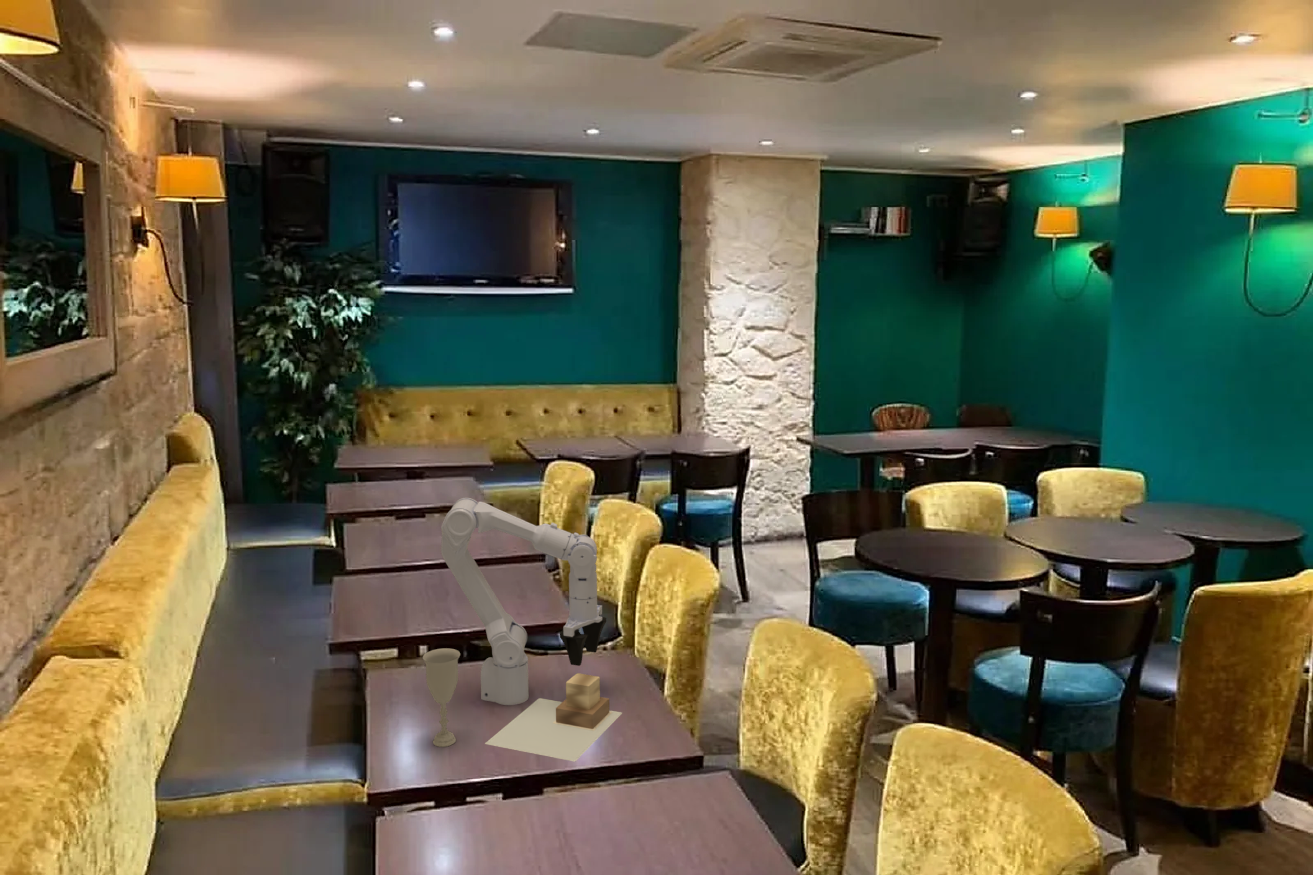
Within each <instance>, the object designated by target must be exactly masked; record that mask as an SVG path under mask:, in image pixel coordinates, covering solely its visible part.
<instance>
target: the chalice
mask: <svg viewBox="0 0 1313 875" xmlns="http://www.w3.org/2000/svg"><path fill="white" fill-rule="evenodd" d="M460 656H461V653H460V651H459V650H457V649H454V648H447V647H446V648H437V649H432V650H430V651H428V652H426V653H424V655H422V660H423V662H424V663H425V675H426V677H425V679H426V685H427V688H428V689H429V693H430V694H431V696H432V698H433V699H434V701H435V702H436V703H437V704H439V705H440V711H439V715H440V716H441V717H440V721H439V722H438V723H439V724H440V726H441V730H440V731H438V733H436V734H435V736H434V739H433V741H432V743H433V745H434V746H435V747H439V748H446V747H450V746H452V745H454V744H455V743H456V742H457V739H456V737H455V735H454V733H452V731H449V730H448V728H447V726H448V723H449V722H450V721H449V720H448V718H447V714H448V713H449V712H448V710H447V703H449V702H451V700H452V698H453V695H454V693H455V691H456V688H457V685H458V681H459V667H458V666H459V663H458V662H459V658H460Z"/></svg>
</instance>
